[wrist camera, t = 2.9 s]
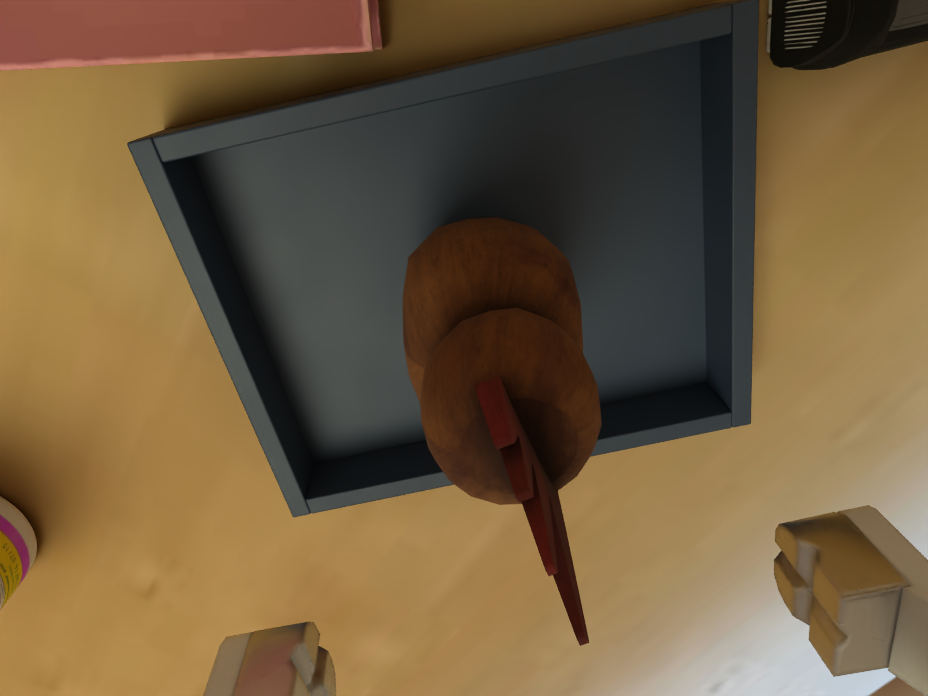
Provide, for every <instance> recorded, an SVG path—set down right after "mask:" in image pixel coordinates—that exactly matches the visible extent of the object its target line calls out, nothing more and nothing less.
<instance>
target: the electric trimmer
mask: <svg viewBox="0 0 928 696" xmlns="http://www.w3.org/2000/svg"><path fill="white" fill-rule="evenodd" d="M769 1H770V2H768V3H769V4H770V5H768V6H770V7H768V8H769V10H768V11H769V12H768V14H769V15H771V17H770V18H769V19H768V22H767V23H769V24H768V25H769V26H768V27H767V28H769V29H767V30H769V31H767V32H768V34H767V35H768V36H766V37H768V38H767V39H768V40H767V41H766V42H769V43H767V44H768V45H766V46H767V47H768V48H766V49H768V50H766V51H767V52H769V53H770V59H771V61H772V62H773V64H774V65H776V66H778V67H780V68H784V67H792V68H794V69H798V70H821V69H827V68H833V67H836V66H839V65H842V64H845V63H847V62H850V61H853V60H856V59H858V58H861V57H865V56H869V55H873V54H877V53H881V52H885V51H889V50H893V49H897V48H901V47H905V46H908V45H912V44H916V43H920V42H924V41H928V0H769Z"/></svg>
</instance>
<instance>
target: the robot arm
mask: <svg viewBox="0 0 928 696" xmlns="http://www.w3.org/2000/svg"><path fill="white" fill-rule="evenodd" d="M775 542H776V543H777V545H778V546H779V547H780V549H781V550H782V551H781V552H780V553H779V554H778V556H777V557H776V558H775V559H774V575H775V579H776V583H777V586H778V590H779V592H780V594H781V596H782V598H783V600H784V602H785V604H786V606H787V607H788V609H789V610H790V612H791V613H792V615H793V616H794V617H796V618H797V619H799V620H801V621H803V622H804V623H806V624H808V625H810V630H809V641H810V642H811V644H812V645H813V647H814V648H815V650H816V651H817V653H818V654H819V656H820V657H821V659H822V660H823V662H824V663H825V665H826V666H827V667H828V669H829V670H830V672H831V673H832V675H833V676H834V677H835V676H841V675H846V674H852V673H858V672H864V671H870V670H876V669H882V668H888V667H889V668H888V671H890V672H891V673H893V674H894V675H895V676H897V677H899V678H900V679H901V680H903V681H904V682H906V683H907V684H909V685H910V686H912V687H913V688H915V689H916V690H918V691H919V692H920V693H922V694H923V695H925V696H928V560H927V559H926V558H925V557H924V556H923V555H922V554H921V553H920V552H919V551H918V550H917V549H916V548H915V547H914V546H913V545H912V544H911V543H910V542H909V541H908V540H907V539H906V538H905V537H904V536H903V535H902V534H901V533H900V532H899V531H898V530H897V529H896V528H895V527H894V526H893V525H892V524H891V523H890V522H889V521H888V520H887V519H886V518H885V517H884V516H883V515H882V514H881V513H880V512H879V511H878V510H877V509H875V508H873V507H871V506H869V505H867V506H862V507H857V508H853V509H848V510H843V511H838V512H837V513H836V512H832V513H827V514H823V515H818V516H814V517H809V518H804V519H800V520H795V521H791V522H786V523H782V524H779V525H778V527H777V528H776V530H775ZM319 638H320V633H319V631H318V629H317V627H316V625H315V624H314V622H304V623H299V624H293V625H287V626H282V627H276V628H271V629H265V630H259V631H254V632H250V633H245V634H239V635H234V636H229V637H226V638H225V640H224V641H223V642H222V644H221V645H220V647H219V649H218V652H217V655H216V658H215V662H214V665H213V668H212V671H211V674H210V677H209V680H208V683H207V686H206V689H205V692H204V695H203V696H336V678H335V670H334V666H333V662H332V659H331V657H330V654H329V652H328V651H327V650H325V649H324V648H322V647H320V646H318V644H319Z"/></svg>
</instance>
